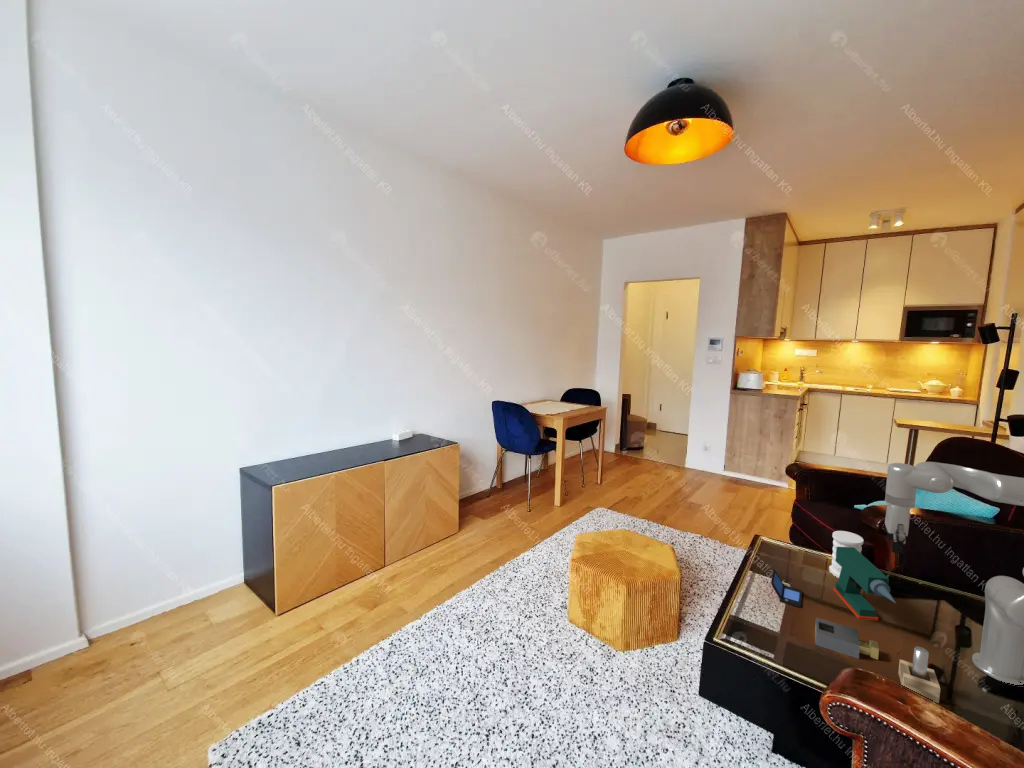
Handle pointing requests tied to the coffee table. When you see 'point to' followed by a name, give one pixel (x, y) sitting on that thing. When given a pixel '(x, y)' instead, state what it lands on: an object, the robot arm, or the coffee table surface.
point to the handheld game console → (786, 592)
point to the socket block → (837, 637)
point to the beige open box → (919, 681)
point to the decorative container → (843, 541)
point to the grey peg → (920, 662)
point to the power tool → (859, 582)
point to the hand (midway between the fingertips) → (895, 546)
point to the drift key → (870, 648)
